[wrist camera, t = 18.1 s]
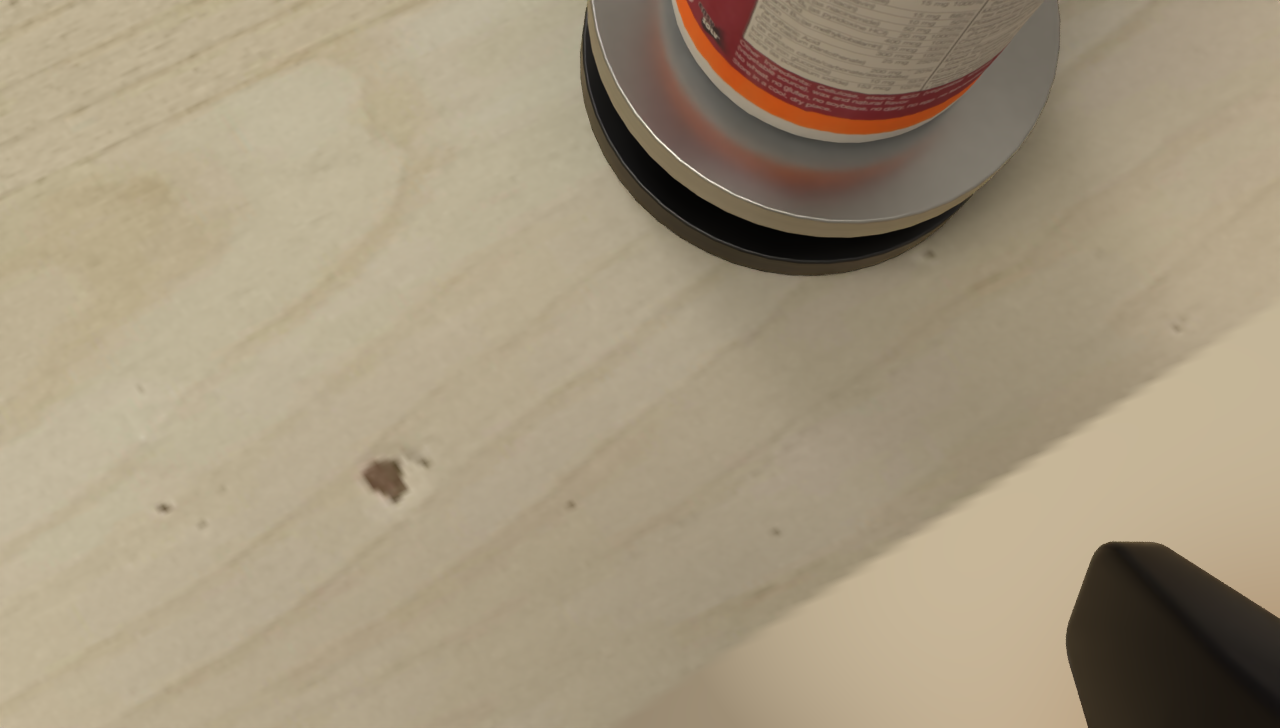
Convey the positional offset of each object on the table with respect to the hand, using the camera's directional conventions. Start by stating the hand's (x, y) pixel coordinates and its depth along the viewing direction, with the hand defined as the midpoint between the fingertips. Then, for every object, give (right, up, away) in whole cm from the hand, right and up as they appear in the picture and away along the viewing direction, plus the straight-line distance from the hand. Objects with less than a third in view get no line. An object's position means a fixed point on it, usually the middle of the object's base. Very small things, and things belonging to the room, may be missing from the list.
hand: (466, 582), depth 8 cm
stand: (+4, +8, +16) cm, 19 cm away
